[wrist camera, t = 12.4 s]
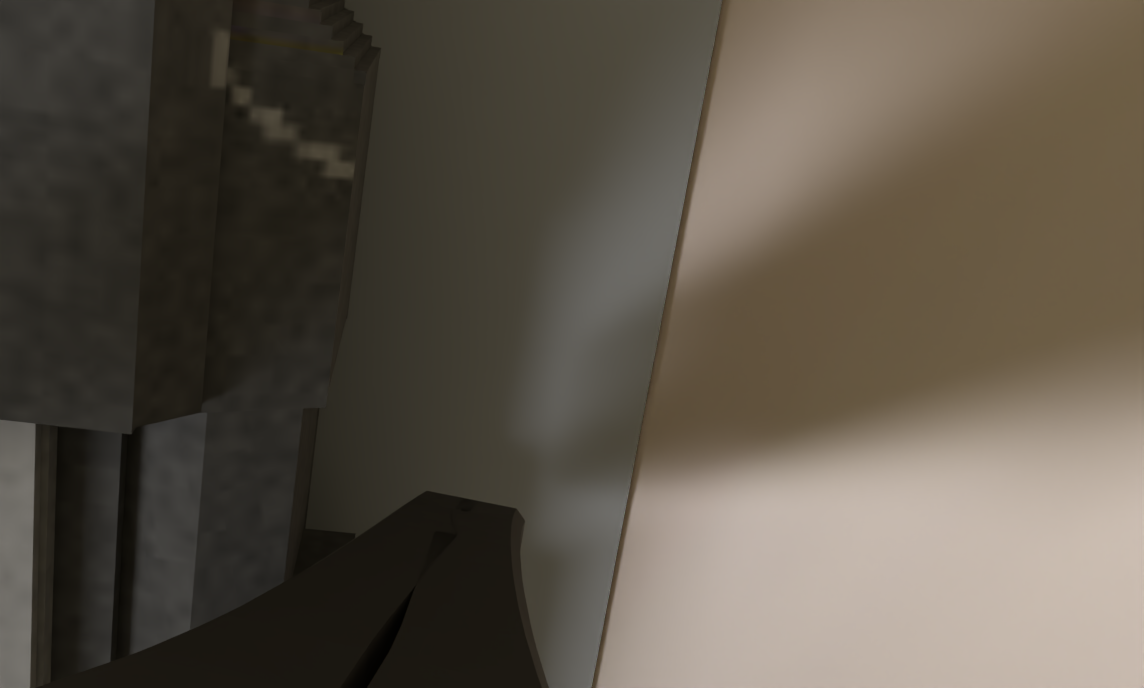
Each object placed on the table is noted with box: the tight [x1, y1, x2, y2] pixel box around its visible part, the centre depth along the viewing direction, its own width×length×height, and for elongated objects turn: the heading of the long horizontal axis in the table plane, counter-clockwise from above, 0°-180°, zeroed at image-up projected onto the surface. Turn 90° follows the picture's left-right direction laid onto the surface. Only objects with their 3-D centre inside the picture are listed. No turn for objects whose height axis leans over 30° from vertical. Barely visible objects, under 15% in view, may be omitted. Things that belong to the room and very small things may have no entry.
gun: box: [0, 0, 381, 688], centre depth 12 cm, size 4×20×10 cm
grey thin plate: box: [305, 0, 722, 688], centre depth 13 cm, size 25×10×1 cm, turn 171°
